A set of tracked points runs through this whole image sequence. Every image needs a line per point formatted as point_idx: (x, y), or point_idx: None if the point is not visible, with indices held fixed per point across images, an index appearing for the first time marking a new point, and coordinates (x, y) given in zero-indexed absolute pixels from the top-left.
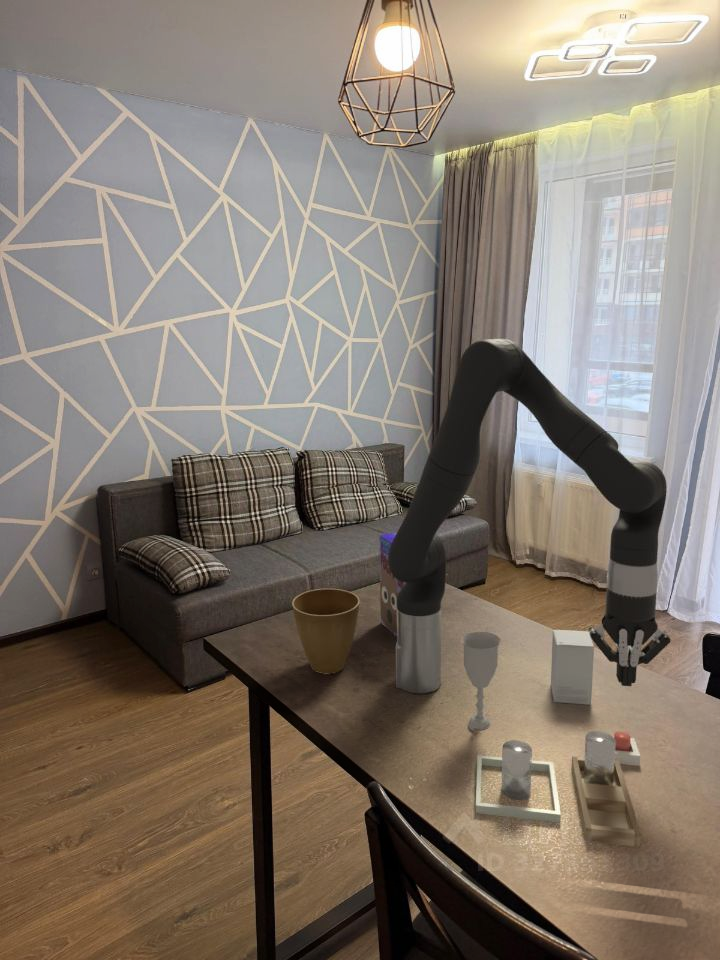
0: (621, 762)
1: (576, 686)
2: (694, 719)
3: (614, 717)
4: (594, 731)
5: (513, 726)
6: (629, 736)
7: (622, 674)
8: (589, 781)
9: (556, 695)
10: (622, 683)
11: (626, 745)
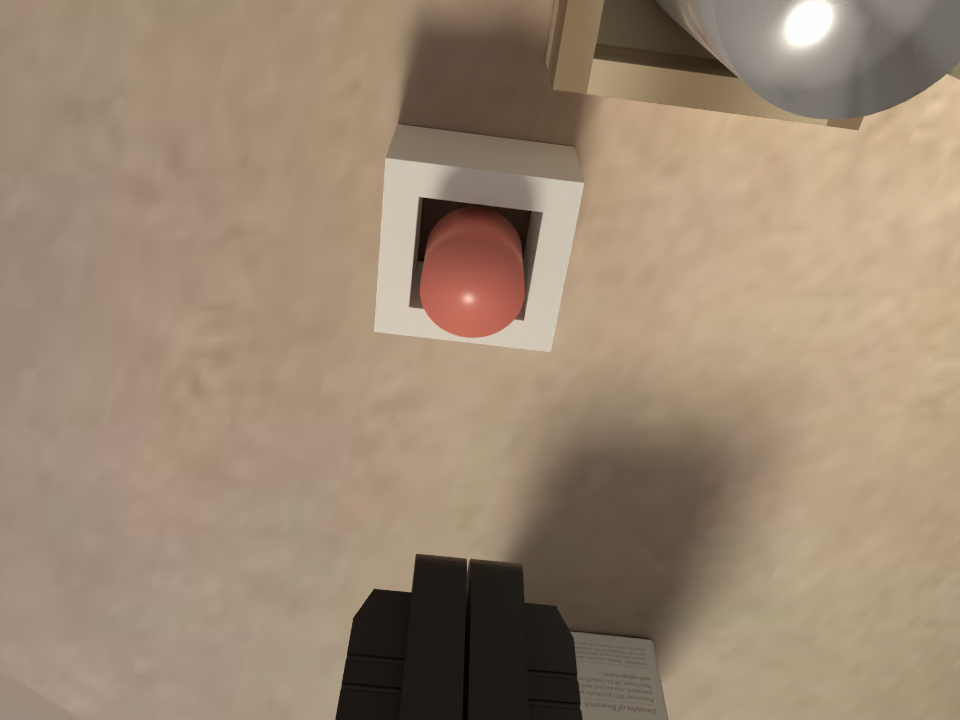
0: (501, 152)
1: None
2: (16, 537)
3: (398, 546)
4: (856, 110)
5: (939, 479)
6: (424, 289)
7: (521, 699)
8: None
9: (649, 668)
10: (522, 584)
11: (458, 230)
